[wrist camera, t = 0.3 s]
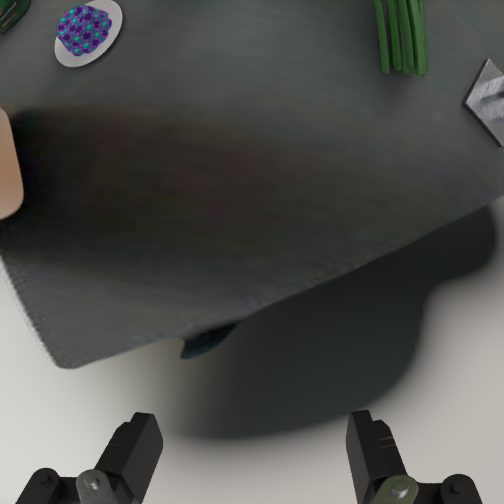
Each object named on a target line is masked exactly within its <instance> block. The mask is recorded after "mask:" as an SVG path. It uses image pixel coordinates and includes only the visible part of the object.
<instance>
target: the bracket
mask: <svg viewBox="0 0 504 504" xmlns="http://www.w3.org/2000/svg"><path fill="white" fill-rule="evenodd" d="M462 105H463V106H464V107H465V108H466V109H467V110H468V111H469V112H470V114H471V115H472V116H473V117H474V118H475V119H476V120H477V121H478V123H479V124H480V125H481V126H482V127H483V128H484V130H485V131H486V132H487V133H488V134H489V136H490V137H491V138H492V139H493V140H494V142H495V143H496V144H497V146H498V147H503V146H504V75H503V74H502V73H501V71H500V70H499V69H498V68H497V67H496V66H495V65H494V63H493V62H492V61H491V60H490V59H487V60H485V62H484V64H483V66H482V68H481V69H480V71H479V73H478V75H477V77H476V79H475V81H474V83H473V85H472V86H471V88H470V90H469V92H468V94H467V95H466V97H465V99H464V101H463V103H462Z"/></svg>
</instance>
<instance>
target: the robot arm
mask: <svg viewBox="0 0 504 504" xmlns="http://www.w3.org/2000/svg"><path fill="white" fill-rule="evenodd" d="M162 449H163V438H162V435H161V432H160V429H159V427H158V424H157V421H156V418H155V416H154V414H149V413H140V412H136V413H135V414H134V415H133V417H132V419H131V421H130V422H124V423H123V424H122V425H121V426H119V427H118V428H117V429H116V431H115V432H114V434H113V436H112V439H110V441H109V443H108V445H107V446H106V448H105V450H104V452H103V454H102V455H101V457H100V459H99V461H98V463H97V464H96V466H95V468H94V469H91V470H86V471H84V472H82V473H81V474H80V475H79V476H78V477H60V476H59V475H58V474H57V472H56V471H55V470H53V469H50V468H42V469H39V470H37V471H36V472H35V473H34V474H33V475H32V477H31V478H30V480H29V482H28V483H27V485H26V486H25V488H24V490H23V491H22V493H21V495H20V497H19V498H18V500H17V502H16V503H15V504H142V502H143V499H144V496H145V494H146V491H147V489H148V486H149V484H150V481H151V478H152V475H153V473H154V470H155V468H156V465H157V463H158V460H159V457H160V455H161V452H162ZM346 450H347V454H348V459H349V464H350V468H351V473H352V478H353V483H354V488H355V493H356V498H357V503H358V504H482V501H481V498H480V496H479V493H478V491H477V489H476V486H475V484H474V482H473V480H472V479H471V478H470V477H468V476H466V475H463V474H454V475H451V476H449V477H447V478H446V479H445V480H444V481H443V483H428V484H427V483H419V482H417V481H415V479H413V478H412V477H410V476H408V474H407V472H406V470H405V467H404V464H403V462H402V459H401V456H400V454H399V451H398V448H397V446H396V443H395V441H394V439H393V435H392V433H391V430H390V428H389V426H388V425H386V424H385V423H384V422H383V421H382V420H376V421H372V418H371V415H370V412H369V410H362V411H355V412H350V414H349V420H348V427H347V434H346Z"/></svg>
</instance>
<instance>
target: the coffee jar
mask: <svg viewBox="0 0 504 504" xmlns="http://www.w3.org/2000/svg"><path fill="white" fill-rule="evenodd" d="M29 2H30V0H0V34H3V33H4V32H5V31H7V30H8V29H9V28H10V27H11V26H12V25H13V24H14V23H15V22H16V21H17V20H18V19H19V18H20V17H21V16H22V15H23V14H24V13H25V12H26V10H27V8H28V6H29Z"/></svg>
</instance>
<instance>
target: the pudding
mask: <svg viewBox="0 0 504 504" xmlns="http://www.w3.org/2000/svg"><path fill="white" fill-rule="evenodd" d="M121 24H122V11H121V9H120V7H119V5H118V4H117V3H115V2H114V1H111V0H95V1H92V2H89V3H87V4H85V5H83V6H82V5H77V6H74V7H73V8H72V9H71V10H68V11H67V12H65V13H64V15H63V16H62V19H61V20H59V22H58V24H57V32H56V33H57V38H56V41H55V54H56V57H57V59H58V61H59V62H60V63H61V64H63V65H65V66H68V67H78V66H82V65H85V64H88V63H90V62H92V61H93V60H95V59H96V58H98V57H99V56H100V55H101V54H103V53H104V52H105V51H106V50H107V49H108V48H109V47H110V45H111V44H112V43H113V41H114V40H115V38H116V37H117V35H118V33H119V30H120V28H121Z"/></svg>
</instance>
